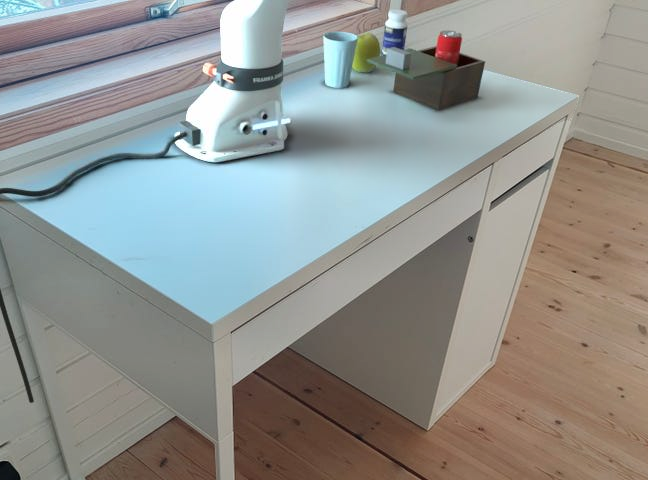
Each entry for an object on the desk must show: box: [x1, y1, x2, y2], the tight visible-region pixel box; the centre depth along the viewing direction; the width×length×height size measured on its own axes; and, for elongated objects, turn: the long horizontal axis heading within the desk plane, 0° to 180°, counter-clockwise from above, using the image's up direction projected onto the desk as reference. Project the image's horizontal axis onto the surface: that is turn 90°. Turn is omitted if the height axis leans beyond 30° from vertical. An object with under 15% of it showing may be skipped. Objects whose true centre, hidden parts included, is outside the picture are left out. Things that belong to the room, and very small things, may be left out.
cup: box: [323, 31, 358, 89], centre depth 155 cm, size 8×8×10 cm
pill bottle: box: [381, 9, 408, 55], centre depth 175 cm, size 6×6×10 cm
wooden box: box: [392, 45, 486, 111], centre depth 153 cm, size 14×14×8 cm
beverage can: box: [435, 29, 463, 65], centre depth 152 cm, size 5×5×12 cm
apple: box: [352, 28, 381, 74], centre depth 164 cm, size 8×8×10 cm
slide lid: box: [367, 47, 457, 80], centre depth 144 cm, size 14×14×4 cm
